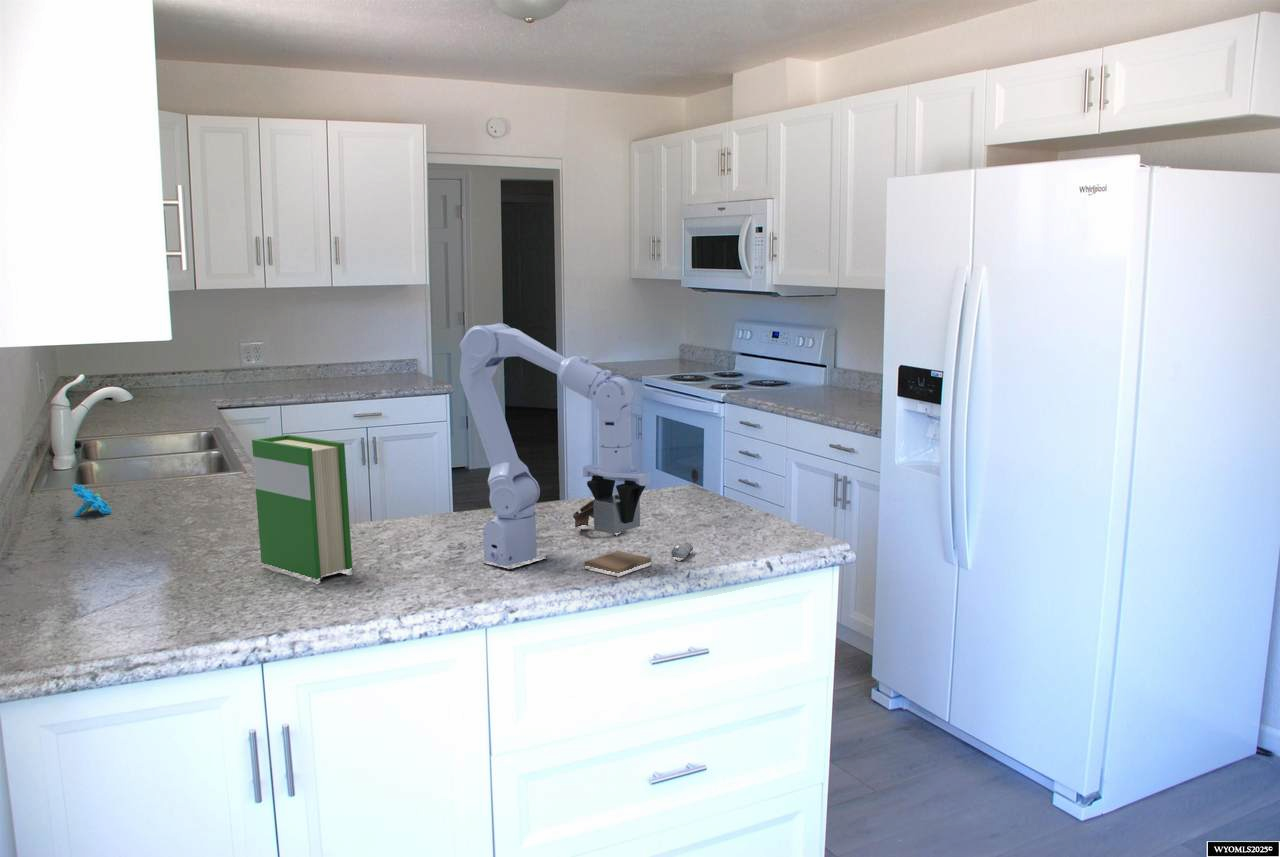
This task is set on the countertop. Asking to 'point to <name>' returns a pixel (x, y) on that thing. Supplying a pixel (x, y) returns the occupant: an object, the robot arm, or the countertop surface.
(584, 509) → the brown irregular piece
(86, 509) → the blue fuzzy irregular piece
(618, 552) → the stand
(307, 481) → the hardback book
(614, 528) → the block
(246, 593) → the countertop surface
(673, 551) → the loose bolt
